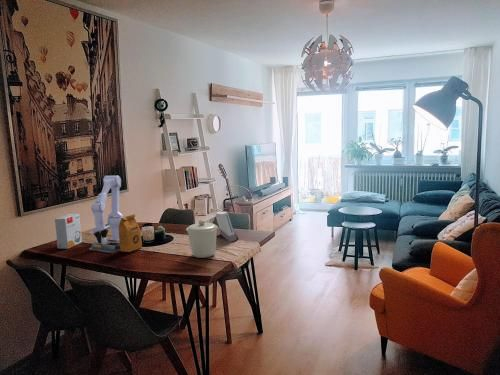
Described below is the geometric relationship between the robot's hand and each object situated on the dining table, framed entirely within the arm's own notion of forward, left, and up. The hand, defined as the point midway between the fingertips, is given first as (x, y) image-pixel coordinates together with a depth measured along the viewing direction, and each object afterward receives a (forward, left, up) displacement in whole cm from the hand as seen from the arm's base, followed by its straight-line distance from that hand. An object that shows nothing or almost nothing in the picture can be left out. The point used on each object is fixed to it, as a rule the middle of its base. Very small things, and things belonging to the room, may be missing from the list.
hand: (101, 242), depth 247 cm
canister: (-10, +71, -4) cm, 72 cm away
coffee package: (-3, +22, -4) cm, 22 cm away
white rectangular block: (0, 0, -2) cm, 2 cm away
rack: (0, +5, -4) cm, 6 cm away
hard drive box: (+3, -26, -4) cm, 27 cm away
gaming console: (-47, +66, -4) cm, 81 cm away
